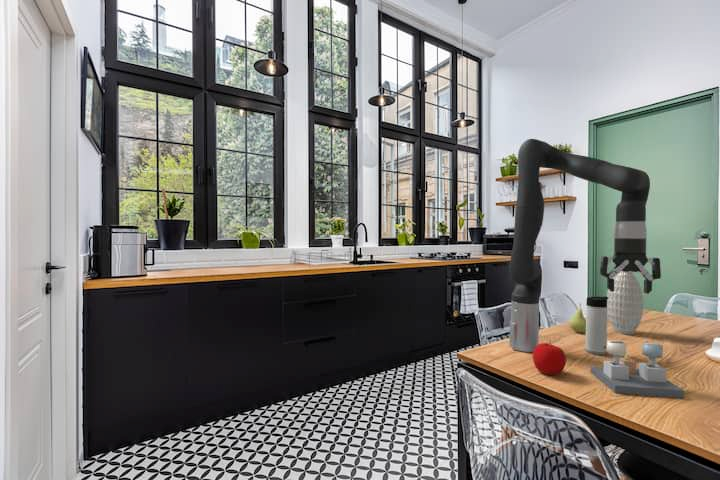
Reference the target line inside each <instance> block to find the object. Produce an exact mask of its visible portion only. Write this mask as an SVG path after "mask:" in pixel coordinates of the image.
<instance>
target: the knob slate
mask: <svg viewBox="0 0 720 480" xmlns="http://www.w3.org/2000/svg"><path fill="white" fill-rule="evenodd" d="M641 349H642V350H641V352H642V353H641V354H642V355H643V356H645V357H647V358H648V363H649V367H652V368H655V364H656V359H662V358H663V357H664V346H663V345H662V344H660V343H657V342H650V341H649V342H646V341H645V342H642V345H641Z"/></svg>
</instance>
